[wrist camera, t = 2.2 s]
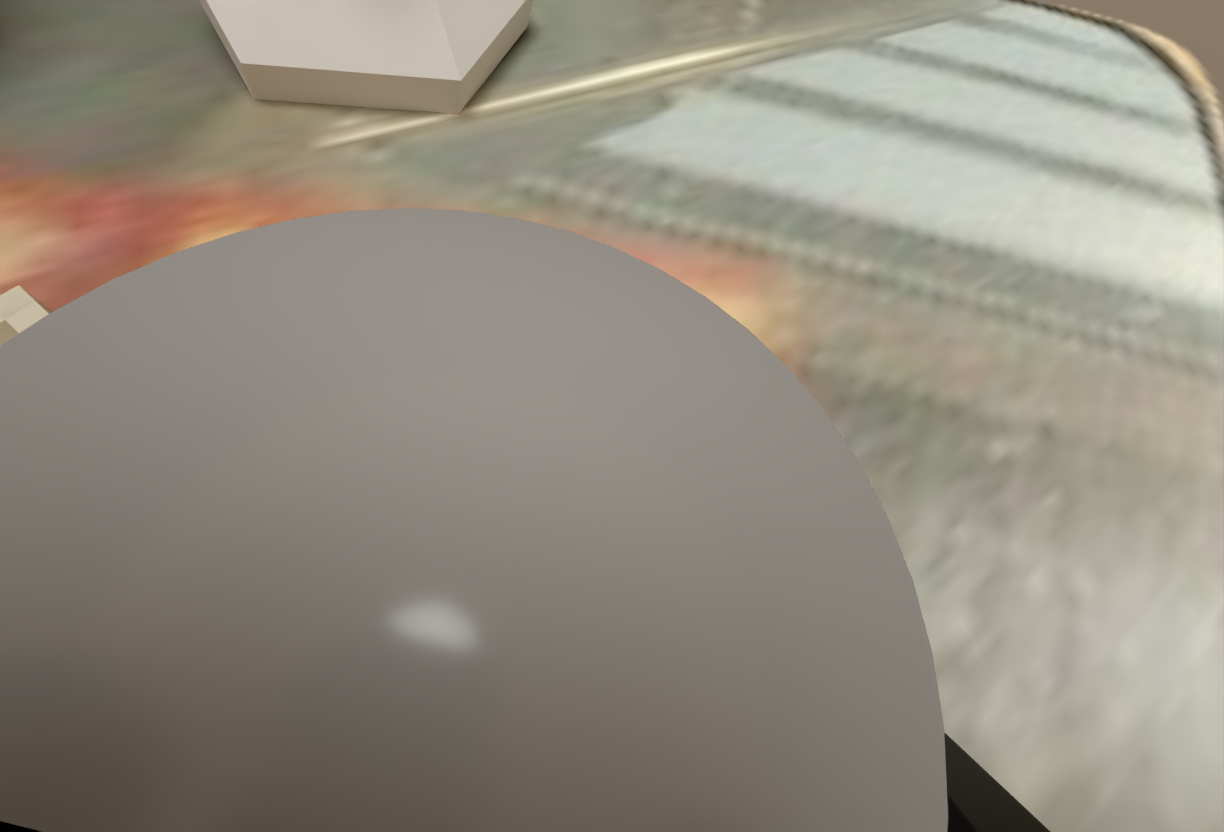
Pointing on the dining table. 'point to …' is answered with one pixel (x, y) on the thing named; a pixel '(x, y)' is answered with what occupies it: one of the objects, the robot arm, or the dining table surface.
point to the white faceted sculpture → (368, 49)
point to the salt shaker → (441, 553)
